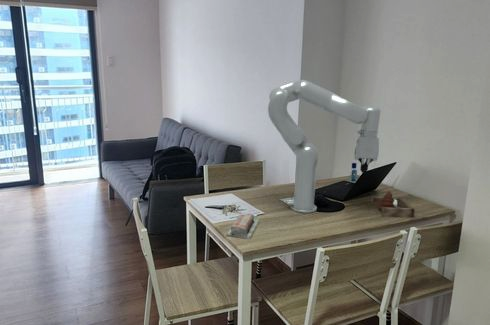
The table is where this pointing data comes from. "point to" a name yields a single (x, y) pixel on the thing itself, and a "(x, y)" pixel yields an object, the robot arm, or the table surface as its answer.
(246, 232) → the packaged product
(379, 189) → the table surface
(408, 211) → the walnut bay
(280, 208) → the table surface
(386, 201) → the poop emoji
